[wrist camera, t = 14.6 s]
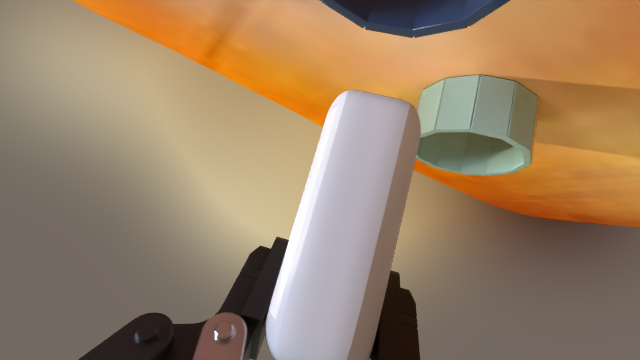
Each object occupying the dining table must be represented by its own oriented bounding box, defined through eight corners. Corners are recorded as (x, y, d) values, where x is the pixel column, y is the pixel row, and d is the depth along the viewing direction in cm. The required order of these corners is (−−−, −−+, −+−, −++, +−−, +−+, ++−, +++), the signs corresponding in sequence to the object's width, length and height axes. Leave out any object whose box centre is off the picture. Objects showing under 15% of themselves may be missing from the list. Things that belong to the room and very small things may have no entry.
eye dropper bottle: (296, 123, 14) (196, 431, 11) (364, 68, 8) (206, 623, 6) (378, 159, 15) (307, 438, 12) (478, 131, 10) (394, 595, 7)
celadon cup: (409, 120, 36) (399, 159, 35) (433, 65, 26) (421, 118, 25) (503, 140, 35) (496, 182, 34) (567, 90, 25) (560, 148, 24)
